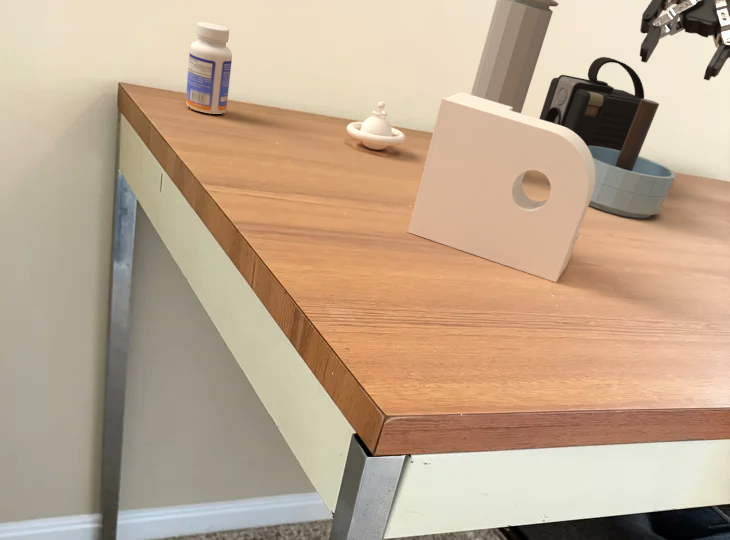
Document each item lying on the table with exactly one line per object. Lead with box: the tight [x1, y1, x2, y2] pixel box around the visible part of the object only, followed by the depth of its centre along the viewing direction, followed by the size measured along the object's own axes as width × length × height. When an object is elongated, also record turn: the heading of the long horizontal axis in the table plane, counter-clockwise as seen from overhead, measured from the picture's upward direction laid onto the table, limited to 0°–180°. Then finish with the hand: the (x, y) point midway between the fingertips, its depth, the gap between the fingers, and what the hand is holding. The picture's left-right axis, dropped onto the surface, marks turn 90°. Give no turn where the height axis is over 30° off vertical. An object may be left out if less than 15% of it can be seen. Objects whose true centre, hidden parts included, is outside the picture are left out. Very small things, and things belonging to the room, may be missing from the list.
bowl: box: [587, 145, 677, 219], centre depth 112 cm, size 13×13×6 cm
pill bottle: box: [185, 21, 233, 114], centre depth 106 cm, size 5×5×10 cm
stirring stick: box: [615, 98, 660, 171], centre depth 109 cm, size 4×4×12 cm
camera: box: [538, 56, 645, 151], centre depth 122 cm, size 11×14×15 cm
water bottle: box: [470, 0, 559, 114], centre depth 108 cm, size 9×8×25 cm
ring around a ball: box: [346, 101, 406, 151], centre depth 110 cm, size 8×6×8 cm
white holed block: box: [407, 91, 596, 283], centre depth 84 cm, size 16×10×13 cm, turn 66°
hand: (675, 66), depth 107 cm, fingers open, 8 cm apart
